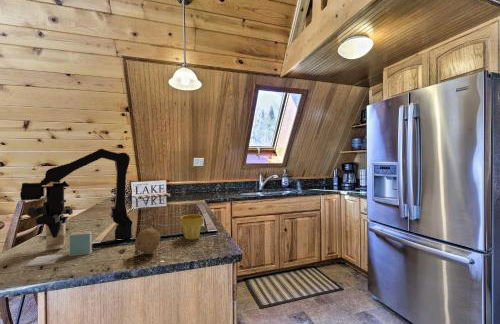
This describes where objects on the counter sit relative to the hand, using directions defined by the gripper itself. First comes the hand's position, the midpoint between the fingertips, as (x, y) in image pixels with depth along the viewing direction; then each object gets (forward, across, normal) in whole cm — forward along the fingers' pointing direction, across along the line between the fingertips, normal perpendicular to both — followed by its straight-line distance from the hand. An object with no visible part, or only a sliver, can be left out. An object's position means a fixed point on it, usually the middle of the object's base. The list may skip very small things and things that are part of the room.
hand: (56, 236), depth 102 cm
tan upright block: (+4, 0, 0) cm, 4 cm away
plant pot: (+6, +1, +54) cm, 54 cm away
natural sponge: (+6, +17, +36) cm, 40 cm away
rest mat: (+5, +12, +1) cm, 13 cm away
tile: (+6, +8, +11) cm, 15 cm away
